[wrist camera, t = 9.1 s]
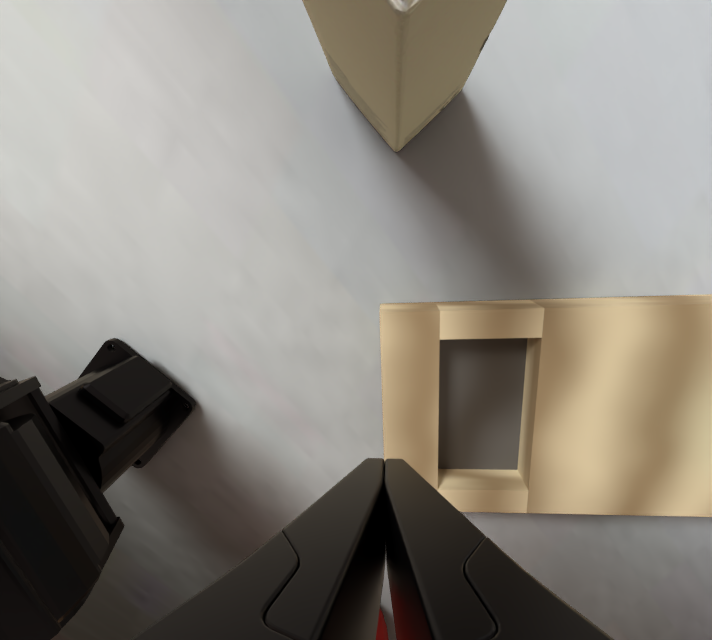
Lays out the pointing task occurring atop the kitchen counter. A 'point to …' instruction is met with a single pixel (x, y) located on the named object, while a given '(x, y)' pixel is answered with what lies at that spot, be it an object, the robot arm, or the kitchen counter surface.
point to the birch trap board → (554, 403)
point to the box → (402, 55)
